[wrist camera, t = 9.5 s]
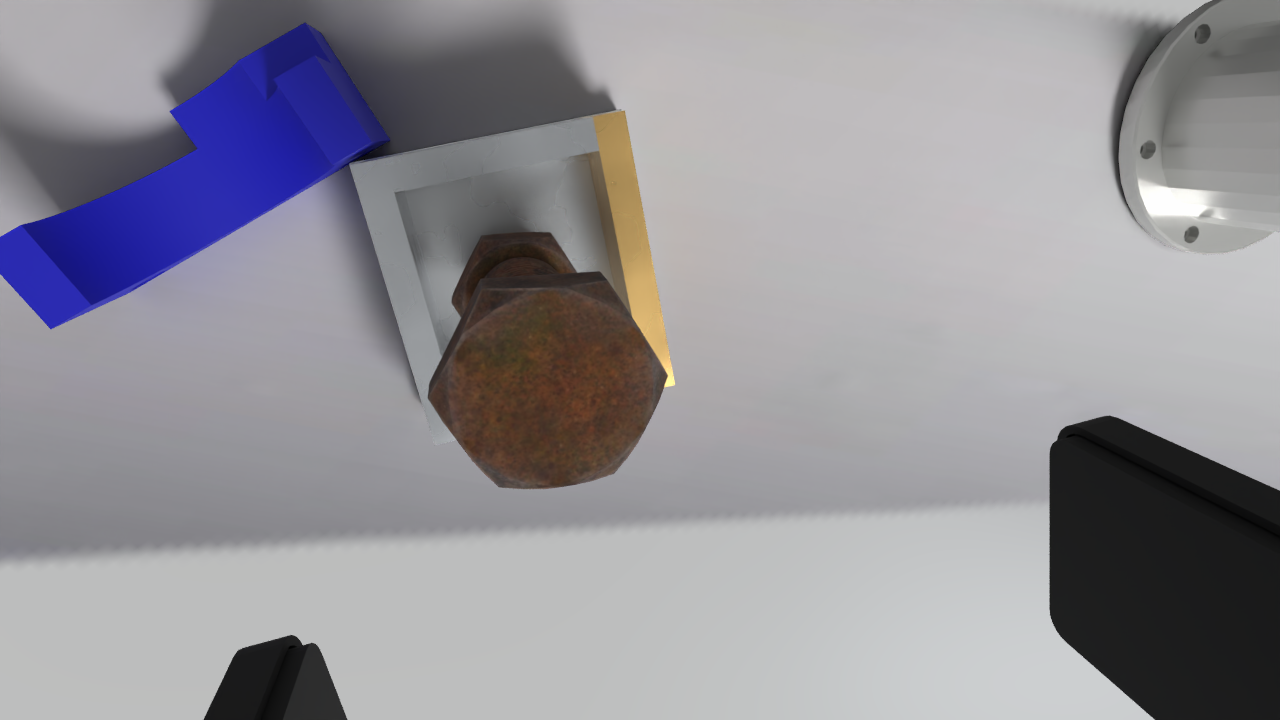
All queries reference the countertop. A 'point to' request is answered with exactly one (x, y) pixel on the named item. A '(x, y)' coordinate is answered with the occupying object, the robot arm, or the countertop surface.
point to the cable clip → (201, 179)
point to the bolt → (543, 367)
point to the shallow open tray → (506, 224)
